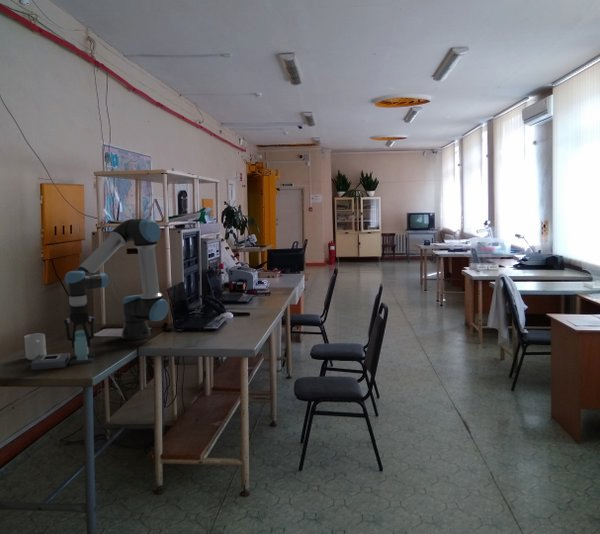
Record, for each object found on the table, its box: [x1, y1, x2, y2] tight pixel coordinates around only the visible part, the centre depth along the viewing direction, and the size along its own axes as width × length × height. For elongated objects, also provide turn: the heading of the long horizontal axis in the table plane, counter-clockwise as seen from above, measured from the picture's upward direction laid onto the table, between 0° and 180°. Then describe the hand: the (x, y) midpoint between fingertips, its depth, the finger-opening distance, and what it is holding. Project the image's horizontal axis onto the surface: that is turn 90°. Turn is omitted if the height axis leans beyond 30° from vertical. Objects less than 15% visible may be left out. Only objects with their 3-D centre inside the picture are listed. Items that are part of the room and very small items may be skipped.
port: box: [30, 352, 71, 371], centre depth 250 cm, size 14×14×4 cm
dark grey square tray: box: [68, 353, 96, 365], centre depth 255 cm, size 10×10×2 cm
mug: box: [23, 332, 47, 361], centre depth 261 cm, size 12×9×11 cm
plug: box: [75, 329, 88, 360], centre depth 254 cm, size 4×4×14 cm
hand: (81, 354), depth 255 cm, fingers closed on plug, 4 cm apart
